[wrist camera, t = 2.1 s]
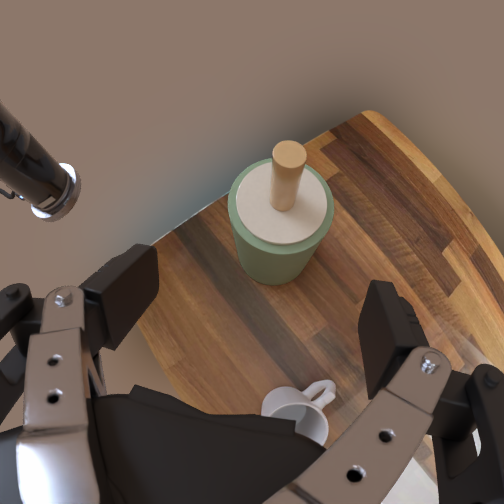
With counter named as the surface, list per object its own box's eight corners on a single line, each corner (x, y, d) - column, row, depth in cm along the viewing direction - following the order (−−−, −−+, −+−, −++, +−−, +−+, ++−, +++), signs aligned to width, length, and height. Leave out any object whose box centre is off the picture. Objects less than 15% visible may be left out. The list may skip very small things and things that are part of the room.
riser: (236, 284, 42) (225, 253, 26) (239, 217, 45) (230, 157, 29) (308, 285, 42) (338, 255, 26) (306, 218, 44) (329, 160, 29)
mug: (282, 438, 36) (291, 472, 24) (249, 406, 37) (246, 432, 26) (336, 390, 37) (365, 408, 26) (304, 358, 39) (323, 365, 27)
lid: (234, 245, 27) (225, 207, 19) (238, 163, 29) (232, 109, 21) (328, 246, 26) (355, 210, 19) (322, 166, 29) (340, 114, 21)
